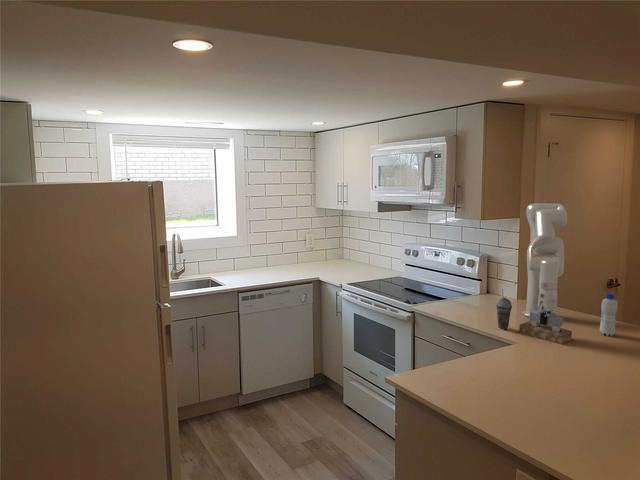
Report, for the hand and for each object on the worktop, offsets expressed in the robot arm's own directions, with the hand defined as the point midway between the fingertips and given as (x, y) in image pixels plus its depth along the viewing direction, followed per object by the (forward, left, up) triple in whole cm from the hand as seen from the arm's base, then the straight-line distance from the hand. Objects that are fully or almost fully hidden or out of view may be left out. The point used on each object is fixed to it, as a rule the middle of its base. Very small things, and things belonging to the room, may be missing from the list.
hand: (545, 323), depth 224 cm
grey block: (0, 0, -5) cm, 5 cm away
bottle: (-24, +18, -6) cm, 31 cm away
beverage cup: (+6, -18, -6) cm, 20 cm away
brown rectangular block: (0, 0, -6) cm, 6 cm away
